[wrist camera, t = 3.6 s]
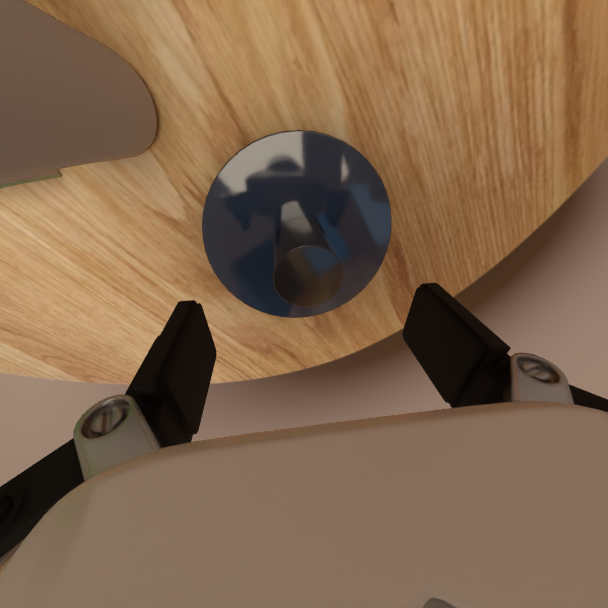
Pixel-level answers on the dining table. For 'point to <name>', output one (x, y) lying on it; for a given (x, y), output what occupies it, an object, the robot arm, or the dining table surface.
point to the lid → (296, 223)
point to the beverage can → (65, 96)
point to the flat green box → (29, 178)
